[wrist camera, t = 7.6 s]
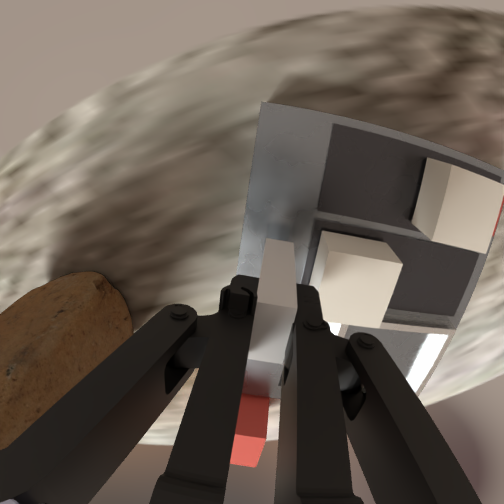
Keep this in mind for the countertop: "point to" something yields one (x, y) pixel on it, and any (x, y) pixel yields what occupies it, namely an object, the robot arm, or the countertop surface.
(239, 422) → the coral toy cube
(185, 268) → the countertop surface
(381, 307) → the toggle
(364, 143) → the panel
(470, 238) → the toggle
